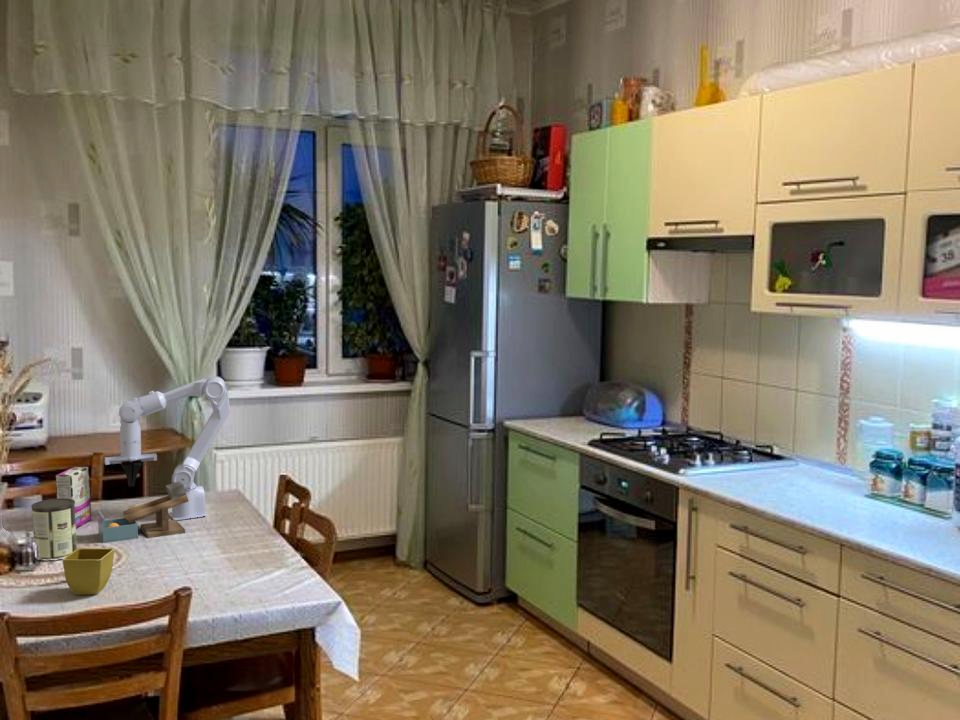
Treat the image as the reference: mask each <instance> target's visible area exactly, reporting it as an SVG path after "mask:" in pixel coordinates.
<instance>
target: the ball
mask: <svg viewBox="0 0 960 720" xmlns="http://www.w3.org/2000/svg"><path fill="white" fill-rule="evenodd" d="M115 526H119V525H118V524H117V523H111V524H109V525H108V527H115ZM108 527H107V528H108Z"/></svg>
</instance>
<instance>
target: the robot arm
mask: <svg viewBox="0 0 960 720" xmlns="http://www.w3.org/2000/svg"><path fill="white" fill-rule="evenodd" d="M191 396H196V397H203V396H205V397H206V398H207V399H208V401H209V403H210V405H211V408H212V413H211V414H210V416H209V418H208V420H207V421H206V423H205V424H204V425H203V428H202V430H200V433H199V435H198V436H197V438H196V440H195V442H193V445H192V446H191V448H190V449H189V451H188V453H187V455H186V456H185V458H184V460H183V461H182V462H181V463H180V464H178V465H177V466H176V467H175V468H174V470H173V474H172V476H171V484H172V483H175V482H177V481H180V482H181V483H182V484H183V485H184V488H185V492H186V495H187V497H188V501H189V502H186V503H183V504H180V505H177V506H175V507H172V508H171V513H169V512H168V517H170V518H171V519H172V520H176V521H182V520H190V518H191V519H198V518H204V517H203V516H205V517H207V514H206V494H205V489H204V487H203V485H198V486H197V484H196V483H195V482H194V479H195V476H196V472H197V471H198V468H199V467H200V464H201V462H202V461H203V459H204V458H205V456H206V454H207V452H208V450H209V449H210V447H211V445H212V443H213V442H214V440H215V438H216V437H217V435H218V433H219V432H220V430H221V428H222V427H223V425H224V424H225V422H226V421H227V418H228V417H229V415H230V412H231V407H230V397H229V388H228V386H227V384H226V382H225V380H224V379H223V378H221V377H220V376H216V375H215V376H211V377H209V378H201V379H199V380H194V381H192V382H189V383H186V384H184V385H182V386H179V387H177V388H174V389H172V390H169V391H166V392H164V393H163V392H161V391H158V390H157V391H154V390H151V391H149V392H148V394H146V395H143V396H140V397H137V396H135V397H133V398H132V400H128V401H126V402H123V404H122V405H121V406H120V408H119V410H118V416H119V417H120V422H119V424H120V426H119V432H120V433H119V435H120V442H119V443H120V455H114V456H104V465H105V466H107V465H115V464H120V465H121V467H122V469H123V471H124V474H125V476H126V479H127V484H128V487H130V488H132V487H133V488H134V487H135V484H136V480H137V477H138V474H139V471H140V470H141V468H142V464H143V463H142V462H148V461H153V462H154V461H155V462H156V461H158V455H157V453H156V452H154V453H142V434H141V433H142V431H141V429H142V428H141V427H142V426H141V422H140V421H141V418H140V417H146V416H148V415H151V414H154V413H157V412H160V411H162V410H164V409H166V407H167V404H169V403H172V402H175V401H178V400H181V399H184V398H187V397H191ZM197 517H198V518H197Z"/></svg>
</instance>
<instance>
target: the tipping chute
mask: <svg viewBox="0 0 960 720" xmlns="http://www.w3.org/2000/svg"><path fill="white" fill-rule="evenodd" d="M165 489H166V492H167V495H166V496H162V497H160V498H156V499H154V500H151V501H148V502H146V503H143V504H139V503H134V504H131V505H128V506H126V508H127V509H125V510H123V511H122V514H123V518H125V519H126V520H127V522H128V523H131V522H133V521H136V522H137V521H140V520H141V519H144V518H147V517H150V516H152V515H156V513H158V512H161V508H162V507H168V510H169V509H172V507H175V506H177V505H180V504H183V503H186V502H189V501H188V497H187V495H186V492H185V488H184V485H183V484H182V483H181V482H180V481H177V482H175V483H172V482H171V483H169V484H166V485H165Z"/></svg>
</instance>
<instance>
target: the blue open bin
mask: <svg viewBox="0 0 960 720" xmlns="http://www.w3.org/2000/svg"><path fill="white" fill-rule="evenodd" d="M111 523H117V524H118V525H119V526H115V527H108V525H109V524H111ZM97 526H98V529H97V530H98V536H99V538H100V539H101V541H102V543H104V544H105V543H106V544H107V543H111V542H118V541H127V540H133V539H138V538H139V530H138V529H139V528H138V522H137V520H136V521H133V522H131V523H128V522H127V520H126V519H125V517H119V518H111V519H106V518H105V515H103V513H102V512H101V510H97ZM107 527H108V528H107Z"/></svg>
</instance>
